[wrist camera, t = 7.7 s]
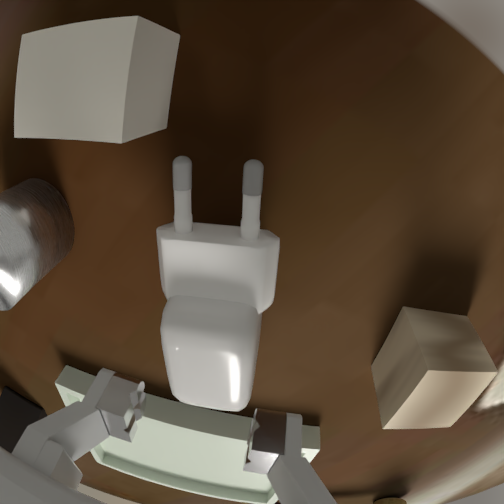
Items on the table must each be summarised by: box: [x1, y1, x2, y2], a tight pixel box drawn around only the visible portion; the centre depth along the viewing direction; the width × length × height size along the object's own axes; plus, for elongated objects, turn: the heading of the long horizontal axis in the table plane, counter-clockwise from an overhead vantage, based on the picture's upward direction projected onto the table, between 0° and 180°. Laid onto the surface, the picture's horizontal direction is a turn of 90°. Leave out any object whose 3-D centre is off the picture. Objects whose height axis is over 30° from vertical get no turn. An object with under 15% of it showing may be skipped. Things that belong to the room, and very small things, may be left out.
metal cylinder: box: [0, 178, 74, 310], centre depth 13 cm, size 5×5×5 cm
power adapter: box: [156, 156, 280, 411], centre depth 12 cm, size 10×4×5 cm, turn 177°
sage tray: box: [55, 365, 320, 504], centre depth 23 cm, size 20×16×2 cm
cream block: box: [14, 16, 180, 143], centre depth 9 cm, size 5×4×4 cm
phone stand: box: [0, 386, 47, 454], centre depth 23 cm, size 9×6×12 cm, turn 164°
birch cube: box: [371, 306, 498, 429], centre depth 14 cm, size 4×4×4 cm
